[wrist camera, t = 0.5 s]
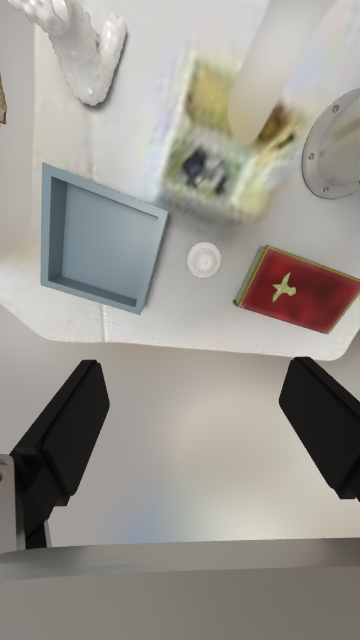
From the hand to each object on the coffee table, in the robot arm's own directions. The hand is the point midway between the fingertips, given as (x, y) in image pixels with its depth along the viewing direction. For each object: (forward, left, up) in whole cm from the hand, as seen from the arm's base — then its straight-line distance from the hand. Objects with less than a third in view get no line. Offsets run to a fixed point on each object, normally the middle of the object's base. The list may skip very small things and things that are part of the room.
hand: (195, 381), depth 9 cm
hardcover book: (-4, +23, -30) cm, 38 cm away
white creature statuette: (-22, -20, -30) cm, 42 cm away
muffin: (-4, +3, -30) cm, 30 cm away
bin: (0, -14, -30) cm, 33 cm away
